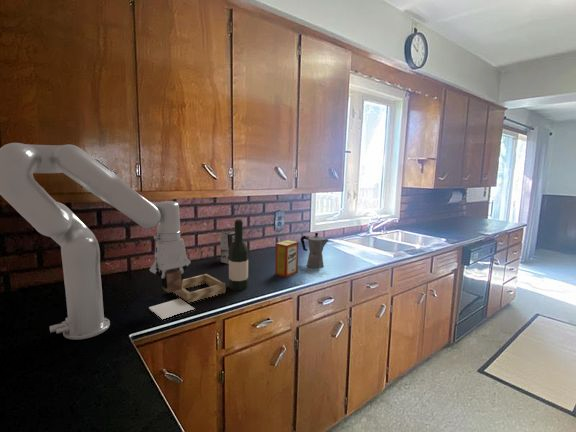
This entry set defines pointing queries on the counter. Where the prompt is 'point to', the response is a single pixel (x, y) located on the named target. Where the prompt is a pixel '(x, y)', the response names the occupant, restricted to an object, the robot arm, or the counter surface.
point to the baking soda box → (286, 258)
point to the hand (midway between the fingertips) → (171, 284)
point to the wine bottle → (238, 260)
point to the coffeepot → (314, 250)
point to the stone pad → (171, 308)
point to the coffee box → (226, 245)
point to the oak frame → (215, 289)
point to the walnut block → (173, 280)
